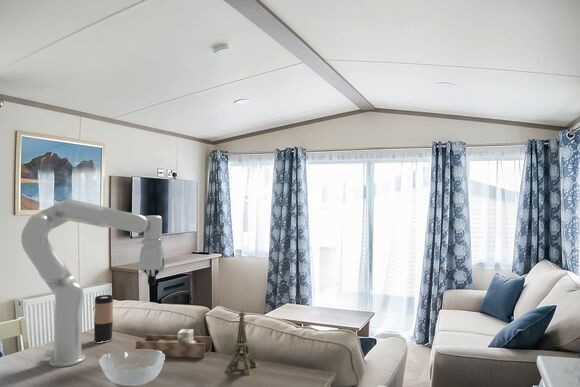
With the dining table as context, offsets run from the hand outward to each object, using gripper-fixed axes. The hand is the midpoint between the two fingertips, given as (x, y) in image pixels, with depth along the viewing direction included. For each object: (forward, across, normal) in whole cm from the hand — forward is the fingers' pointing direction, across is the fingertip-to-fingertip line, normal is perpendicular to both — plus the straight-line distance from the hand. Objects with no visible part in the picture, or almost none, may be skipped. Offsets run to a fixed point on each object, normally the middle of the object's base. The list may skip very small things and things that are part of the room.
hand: (151, 284), depth 179 cm
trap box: (+26, +14, -6) cm, 30 cm away
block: (+22, +19, -6) cm, 30 cm away
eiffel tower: (+27, +46, -19) cm, 57 cm away
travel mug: (+27, -25, +4) cm, 37 cm away
